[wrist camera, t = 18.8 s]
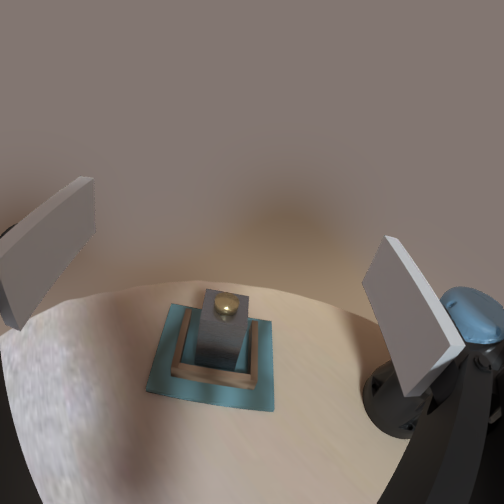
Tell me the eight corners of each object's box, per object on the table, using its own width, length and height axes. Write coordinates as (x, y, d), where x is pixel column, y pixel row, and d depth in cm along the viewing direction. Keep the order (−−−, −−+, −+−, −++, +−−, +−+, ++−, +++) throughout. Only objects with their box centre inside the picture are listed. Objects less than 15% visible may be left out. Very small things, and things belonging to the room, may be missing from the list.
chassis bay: (270, 324, 53) (274, 311, 52) (272, 411, 38) (279, 401, 36) (171, 306, 52) (172, 292, 50) (146, 391, 36) (144, 379, 35)
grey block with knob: (236, 341, 47) (250, 289, 41) (234, 371, 42) (249, 320, 36) (199, 335, 47) (207, 282, 41) (194, 364, 42) (201, 312, 36)
